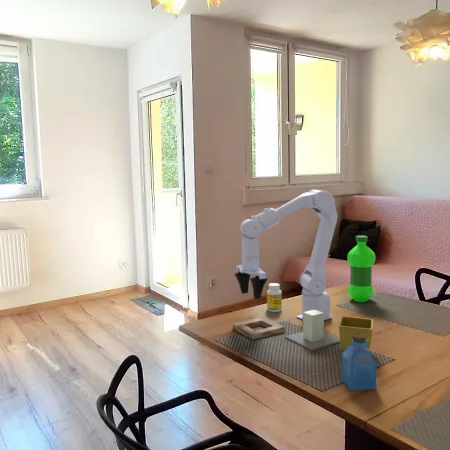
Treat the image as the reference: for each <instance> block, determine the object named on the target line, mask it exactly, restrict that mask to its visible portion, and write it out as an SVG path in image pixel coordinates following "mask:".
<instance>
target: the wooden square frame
mask: <svg viewBox="0 0 450 450" xmlns="http://www.w3.org/2000/svg"><path fill="white" fill-rule="evenodd" d="M260 326H262V327H264V328H260V329H257V330H256V329H253V328H255V327H256V328H257V327H260ZM232 329H233V330H234V331H237V332H238V333H240V334H242V335H243V336H246V337H247V338H249V339H251V340H253V341H254V340H257V339H261V338H266V337H270V336H273V335H276V334H281V333H285V331H286V330H285V329H286V327H285V326H284V325H281V324H279V323H277V322H274V320H273V321H272V320H271V319H269V318H266V317H264V316H262V317H258V318H254V319H250V320H245V321H240V322H236V323H232Z"/></svg>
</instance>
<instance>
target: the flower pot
mask: <svg viewBox="0 0 450 450" xmlns="http://www.w3.org/2000/svg"><path fill="white" fill-rule="evenodd" d="M373 325H374V319H373V318H372V319H371V318H365V317H354V316H340V320H339V324H338V330H339V331H338V333H339V334H338V335H339V339H340V343H339V344H340V346H341V350H342V351H343V352H344V351H345V349H346V348H347V347H348V346H353V345H352V339H353V336H352V335H353V334H354V333H361V334H365V335H366V339H365V340H366V341H367V346H365V347H366V348H367V349H368V350H369V351H370V348H371V343H372V335H373Z"/></svg>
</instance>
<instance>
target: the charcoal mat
mask: <svg viewBox="0 0 450 450" xmlns="http://www.w3.org/2000/svg"><path fill="white" fill-rule="evenodd" d="M285 339H286V340H288V341H291V342H292V343H294V344H297V345H298V346H302V347H303V348H305V349H308V350H309V351H316V350H319V349H323V348H326V347H330V346H333V345H337V344H341V343H340V338H338V337H336V336H334V335H332V334H330V333H326V332H324V339H321V340H317V341H314V342H311V341H309V340H307V339H305V338H303V331H300V332H296V333H292V334H289V335H286V336H285Z"/></svg>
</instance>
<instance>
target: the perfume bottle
mask: <svg viewBox="0 0 450 450" xmlns="http://www.w3.org/2000/svg"><path fill="white" fill-rule="evenodd" d="M352 336H353V339H352V345H353V346H348V347H347V348H346V349H345V351H343V352H342V354H341V380H342V381H343V383H344V384H345V386H347V387H348V389H349V391H361V390H362V391H365V390H377V377H378V376H377V372H378V371H377V367H378V365H377V362H376V359H375V358H374V356H373V354H372V353H371V351H370V349H369V350H368V349H367V348H366V347H365V346H367V341H366V340H365V339H366V335H365V334H361V333H354V334H353V335H352Z"/></svg>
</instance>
